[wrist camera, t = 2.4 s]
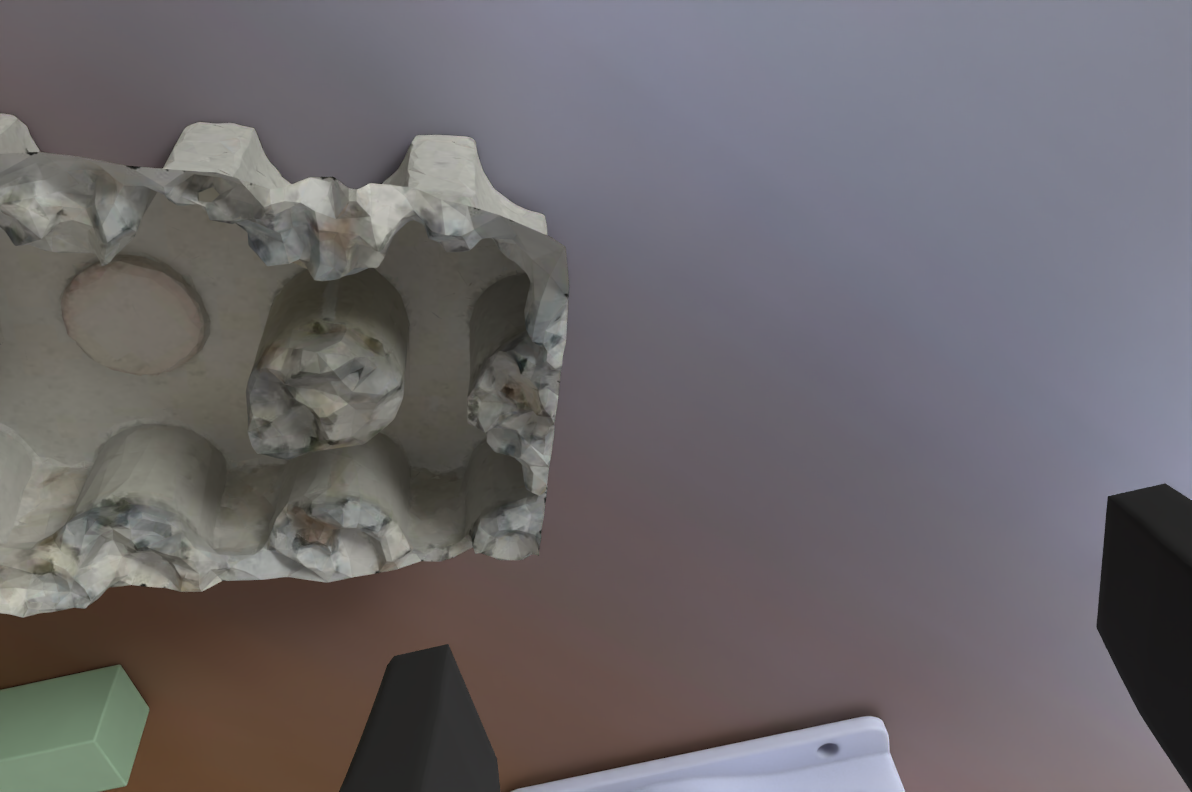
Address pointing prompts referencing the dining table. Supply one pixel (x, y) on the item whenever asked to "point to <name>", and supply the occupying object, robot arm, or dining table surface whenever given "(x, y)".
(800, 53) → the dining table surface
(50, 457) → the egg carton
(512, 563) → the dining table surface
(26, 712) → the frame
